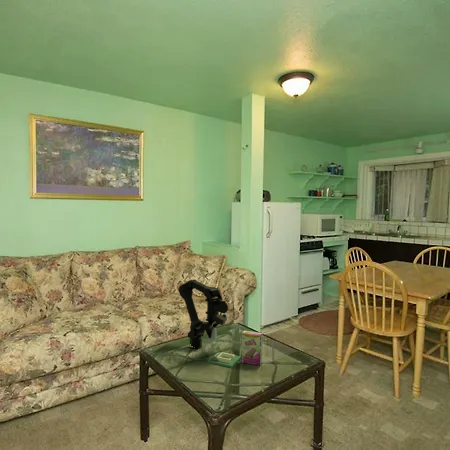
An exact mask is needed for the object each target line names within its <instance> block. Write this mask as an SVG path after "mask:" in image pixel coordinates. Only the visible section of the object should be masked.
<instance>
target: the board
mask: <svg viewBox="0 0 450 450" xmlns="http://www.w3.org/2000/svg"><path fill="white" fill-rule="evenodd" d="M240 361H241V355H237V354H233V353H227V352H219V351H218V352H216V353H215V354H214V355H213V356H212V357H210V358H209V359H208V361H207V363H208V364H210V365H211V364H212V365H216V366H221V367H224V368H225V367H226V368H231V369H233V368H234V367H235V366H236V364H238V362H240Z"/></svg>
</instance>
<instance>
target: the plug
mask: <svg viewBox="0 0 450 450" xmlns="http://www.w3.org/2000/svg"><path fill="white" fill-rule="evenodd" d="M217 333H218V331H217V328H213V329H212V334H211V338H209V337H208V335H207V334H206V340H209V341H216V340H217V338H218V337H217V336H218V334H217Z"/></svg>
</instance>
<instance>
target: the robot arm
mask: <svg viewBox="0 0 450 450" xmlns="http://www.w3.org/2000/svg"><path fill="white" fill-rule="evenodd" d="M194 290H196V291H199V292H200V293H202V294H203V296H204V297H205V299H204V302H206V303H207V305H206V308H207V309H206V312H205V315H206V318H205V321H204V320H200V318H199V315H198V313H197V309H196V306H195V303H194V299H193V295H194V294H193V293H194ZM178 294H179V296H180V297H181V298H182V299H183V300H184V303H185V306H186V310H187V313H188V315H189V320H190V326H189V331H188V333H187V337H188V338H189V345H190V344H191V346H193V347H195V348H196V349H195V350H199V349H201V348H202V347H203V339H202V337H204V335H205V332H206V336H207V335H208V337H209V338H211V334H212V329H213V328H216V329H217V328H218V326H219V325H220V326H223V325H225V323H226V321H227V320H228V316H227V314H226V313H227V312H228V311H229V305H228V304H227V303H226V302H227V301H226V300H223V297H222V294H221V293H220V290H219V289H218V287H215V286H208V285H205V284H204V283H201V282H200V281H197V279H189V280H188V281H187V282H185V283H183V284H181V285H179V287H178ZM219 313H221V314H219ZM201 346H202V347H201ZM198 348H199V349H198Z"/></svg>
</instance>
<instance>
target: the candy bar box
mask: <svg viewBox="0 0 450 450" xmlns="http://www.w3.org/2000/svg"><path fill="white" fill-rule="evenodd" d="M263 336H264V333H263V332H257V331H250V330H242V332H241V335H240V356H241V359H240V363H242V364H245V365H246V364H248V365H253V366H257V367H258V366H259V367H260V366H261V365H262V363H263V347H264V346H263V343H264V342H263V341H264V340H263V339H264V337H263Z"/></svg>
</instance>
